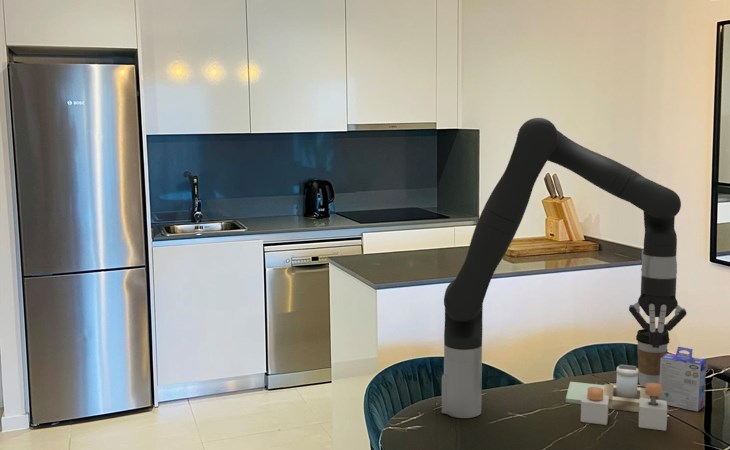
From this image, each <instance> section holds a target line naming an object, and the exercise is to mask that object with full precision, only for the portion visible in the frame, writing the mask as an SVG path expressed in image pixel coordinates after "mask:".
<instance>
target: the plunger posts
mask: <svg viewBox="0 0 730 450" xmlns="http://www.w3.org/2000/svg"><path fill="white" fill-rule="evenodd" d="M650 401H651V398H650V399H646V398H640V399H639V412H638V428H642V429H650V430H659V431H667V428H668V427H667V426H668V425H667V423H668V405H667V401H664V400H658V399H656V406H655V405H650ZM608 404H609V396H606V395H603V399H602V400H591V399H589V398H588V397H587V393H583V396H582V400H581V404H580V422H581V423H582V422H583V423H589V424H596V425H604V426H607V425H608V420H609V409H608Z"/></svg>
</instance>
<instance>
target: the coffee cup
mask: <svg viewBox="0 0 730 450" xmlns="http://www.w3.org/2000/svg"><path fill="white" fill-rule="evenodd" d="M655 329H656V330H657V328H656V327H655ZM649 336H650V332H649V330H647V329H643V328H642V329H639V330H637V333H636V336H635V340H636V341H637V346H636V350H637V351H636V352H637V364H638V365H637V366H638V367H637V368H638V370H639V371H638V383H639V385H640V386H641V387H643V388H646V384H647V383H657V384H659V380H660V359H661V357H663V356H664V355H665V354H668V352H669V351H668V344H670V340H671V339H670V334H669V331H665V332H663V343H662V346H659V348H652V345H650V343H649Z"/></svg>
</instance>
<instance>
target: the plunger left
mask: <svg viewBox="0 0 730 450" xmlns="http://www.w3.org/2000/svg"><path fill="white" fill-rule="evenodd" d="M587 397H588V398H589V399H591V400H602V399H603V389H601V388H598V387H589V388H588V393H587Z"/></svg>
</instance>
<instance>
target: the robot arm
mask: <svg viewBox="0 0 730 450" xmlns="http://www.w3.org/2000/svg"><path fill="white" fill-rule="evenodd" d="M516 135H517V136H516V141H515V143H514V147H513V149H512V152H511V155H510V157H509V160H508V163H507V166H506V168H505V170H504V172H503V174H502V175H501V177H500V179H499V180H498V182H497V183H496V185H495V187H494V188H493V190H492V191H491V193H490V195H489V197H488V198H487V201H486V202H485V205H484V207H483V209H482V211H481V213H480V216H479V217H478V219H477V222H476V225H475V228H474V230H473V234H472V236H471V240H470V243H469V247H468V251H467V255H466V257H465V260H464V262H463V264H462V266H461V268H460V270H459V272H458V273H457V275H456V277H455V279H453V280H452V281H451V282H449V284H448V285H447V287H446V289H445V291H444V296H443V305H444V327H443V328H444V329H443V330H444V332H443V339H444V340H443V342H444V343H443V374H442V376H441V414H445V415H448V416H450V417H452V418H459V419H471V418H475V417H478V416H479V415H481V414H482V396H483V395H482V393H483V392H482V391H483V390H482V383H483V382H482V381H483V380H482V378H483V375H482V373H483V364H482V363H483V311H484V310H483V307H484V305H483V304H484V300H485V297H486V294H487V291H488V290H489V286H490V283H491V280H492V277H493V276H494V274H495V272H496V270H497V269H498V266H499V265H500V263H501V261H502V259H503V257H504V256H505V254H506V253H507V250H508V249H509V248H510V245H511V243H512V241H513V239H514V238H515V235H516V234H517V232H518V230H519V227H520V224H521V222H522V220H523V218H524V215H525V212H526V211H527V207H528V205H529V202H530V200H531V199H530V198H531V196H532V192H533V190H534V186H535V184H536V182H537V180H538V178H539V176H540V174H541V172H542V171H543V168H544V167H545V165H546V164H547V162H550V163H553V164H556V165H559V166H561V167H563V168H565V169H566V170H568V171H571V172H572V173H574V174H576V175H578V176H579V177H581V178H582V179H585V180H586V181H587V182H588V183H591V184H592V185H594V186H596V187H598V188H600V189H601V190H602V191H605V192H606V193H608V194H611V195H612V196H614V197H617V198H619V199H620V200H622V201H625V202H627V203H630V204H631V205H633V206H635V208H636V207H637V208H639V210H641V211H643V225H644V226H643V227H644V238H643V255H642V262H641V269H640V271H641V276H640V278H641V279H640V295H639V296H638V300H637V301H636V302H635V303H633V304H630V305H629V306H628V311H629V313H630V314H631V315H632V317H633V318H634V319H635V320H636V322H637V323H638V324H639V326H640V327H641V328H642V329H647V330H649V332H650V336H649V343H650V345H652V348H659V346H662V343H663V332H665V331H668V332H670V331H672V330H673V329H674V328H675V327H676V326H677V325H678V324H679V323H680V322H681V321H682V320H683V319H684V318H685V317H686V316H687V310H686V308H683V307H681V306H680V305H679V304H678V300H677V298H676V296H677V295H676V294H677V293H676V292H677V276H678V275H677V274H678V263H677V262H678V261H677V250H678V249H677V248H678V239H677V232H676V229H675V222H676V221H675V219H676V218H675V217H676V216H677V215H678V214H679V212H680V211H681V208H682V200H681V198H680V196H679V194H678V193H676V191H674V190H673V189H671V188H668V187H666V186H664V185H662V184H659V183H658V182H656V181H653V180H651V179H649V178H646V177H645V176H643V175H642V174H640V173H639V172H637V171H636V170H633V169H632V168H630V167H628V166H626V165H624V164H622V163H620V162H618V161H616V160H613V159H612V158H610V157H607V156H605V155H602V154H600V153H599V152H595V151H593V150H591V149H589V148H587V147H584V146H583V145H581V144H579V143H577V142H575V141H573V140H572V139H570V138H568V137H567V136H566V135H565V134H563V133H562V132H560V131H559V130H558V129H557V128H556V125H555V124H554V123H553V122H552V121H550V120H549V119H546V118H543V117H533V118H530V119H528V120H527V121H525V122H524V123H522V125H521V126H520V127H519V129H518V132H517V134H516ZM641 309H642V310H643V312H644V314H645V315H646V316H647V317H649V319H648V320H649V322H647V321H646V319H645V318H644V317H643V316H642V314H641V313H640V312H641ZM673 311H674V316H672V318H671V319H669V321H667V323H665V321H666V318H667V317H669V316H670V315H671V314H672V313H673ZM656 318H658V320H657V321H658V322H657V330H656V329H655V328H656Z"/></svg>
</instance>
